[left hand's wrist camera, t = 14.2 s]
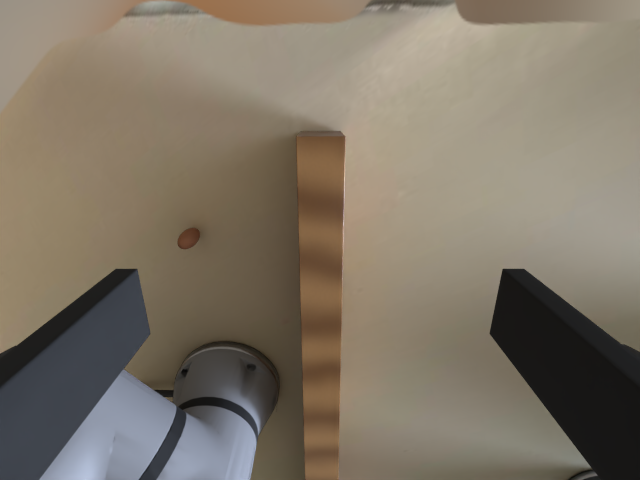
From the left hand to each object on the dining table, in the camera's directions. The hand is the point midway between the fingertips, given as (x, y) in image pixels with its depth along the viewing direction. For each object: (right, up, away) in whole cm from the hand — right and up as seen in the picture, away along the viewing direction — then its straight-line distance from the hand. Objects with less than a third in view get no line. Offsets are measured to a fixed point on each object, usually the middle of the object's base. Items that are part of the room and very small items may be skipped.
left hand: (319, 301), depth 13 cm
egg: (-16, +3, +32) cm, 36 cm away
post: (0, -18, +40) cm, 43 cm away
